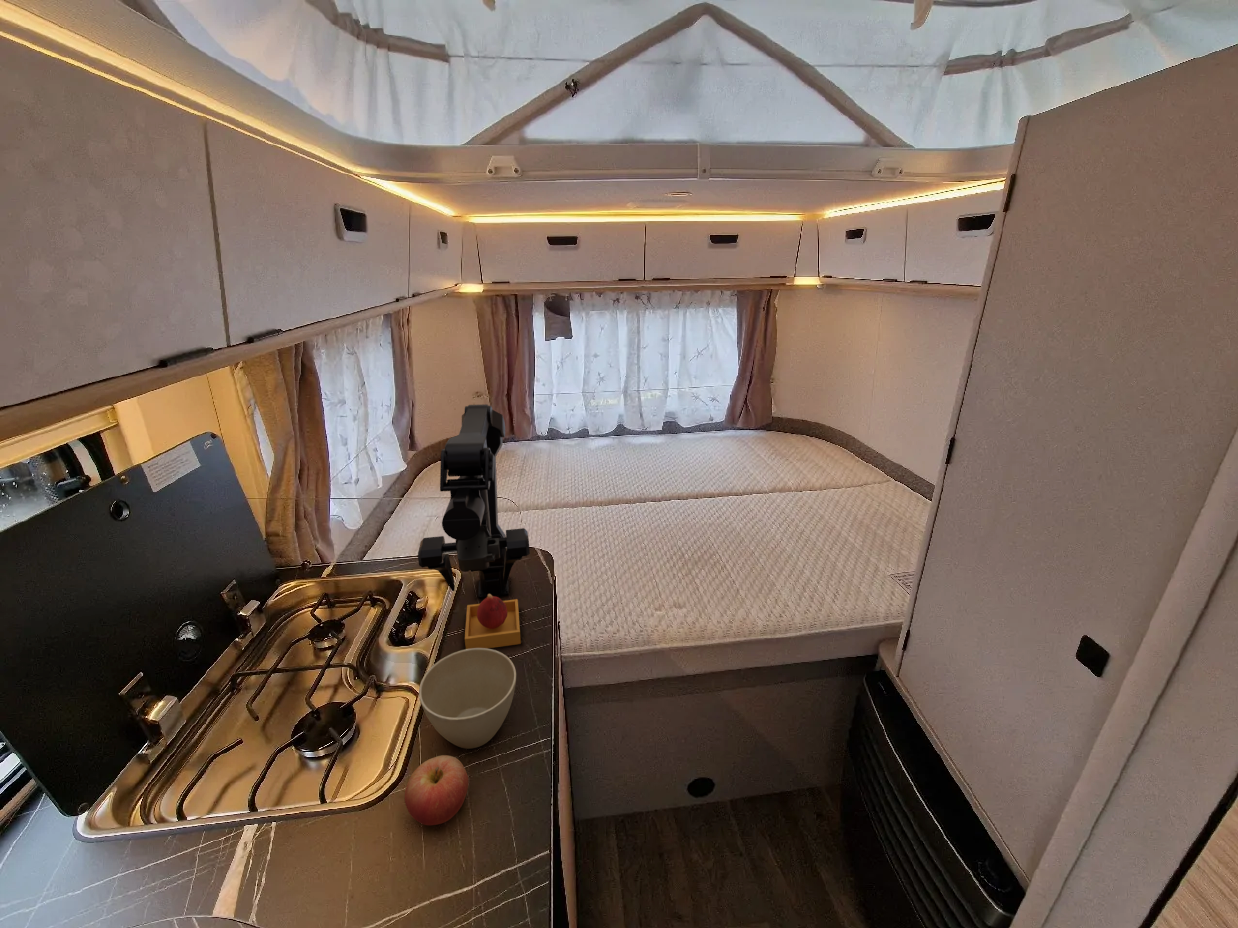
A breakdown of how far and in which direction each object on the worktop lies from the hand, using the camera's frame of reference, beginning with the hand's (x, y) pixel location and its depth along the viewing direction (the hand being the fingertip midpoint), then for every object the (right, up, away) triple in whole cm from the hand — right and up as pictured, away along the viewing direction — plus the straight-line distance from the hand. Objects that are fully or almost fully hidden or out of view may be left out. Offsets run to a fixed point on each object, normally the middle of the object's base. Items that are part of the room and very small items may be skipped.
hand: (479, 586), depth 95 cm
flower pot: (+3, -20, -13) cm, 24 cm away
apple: (+1, -25, -24) cm, 35 cm away
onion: (+1, -10, +8) cm, 13 cm away
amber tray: (+1, -11, +8) cm, 14 cm away
